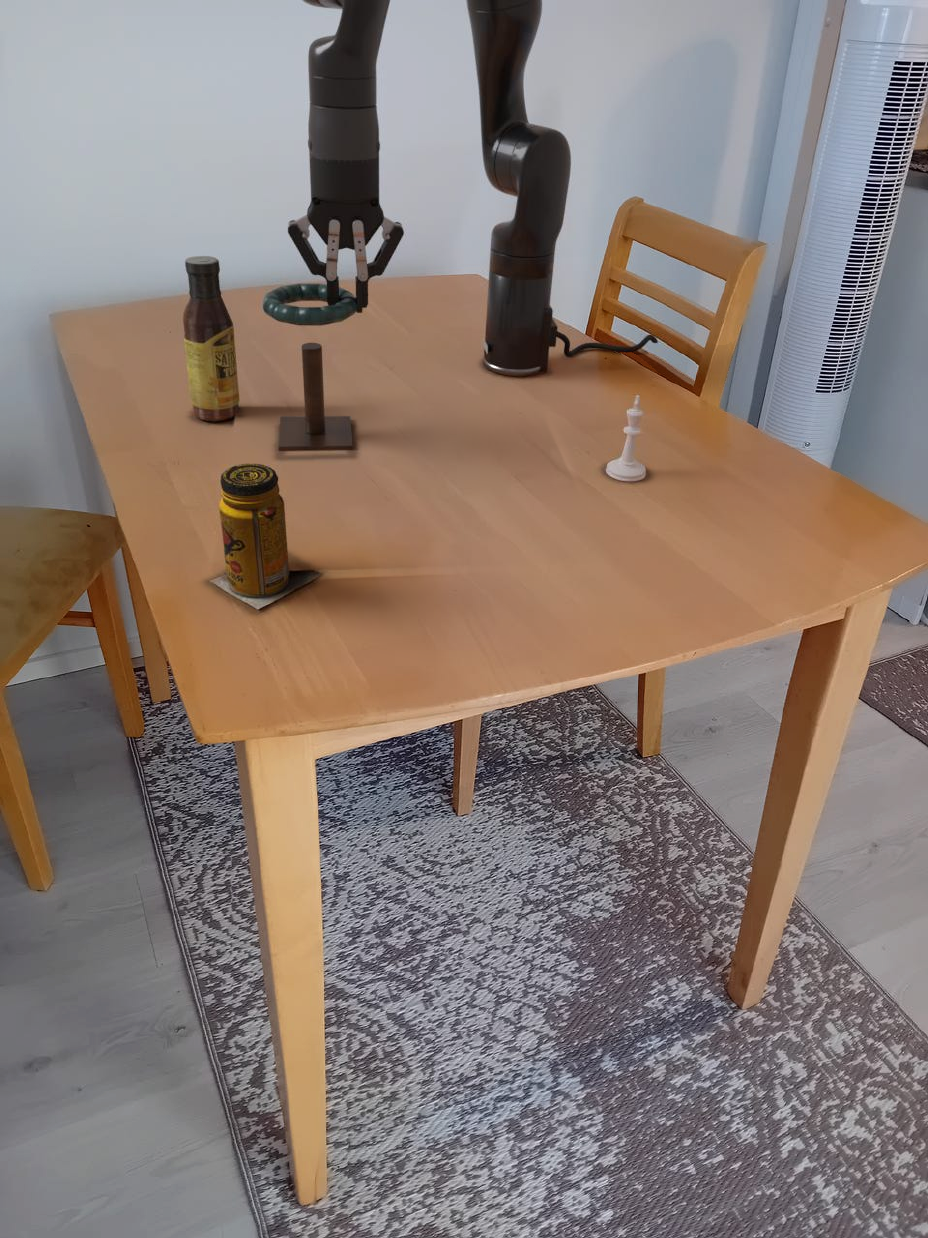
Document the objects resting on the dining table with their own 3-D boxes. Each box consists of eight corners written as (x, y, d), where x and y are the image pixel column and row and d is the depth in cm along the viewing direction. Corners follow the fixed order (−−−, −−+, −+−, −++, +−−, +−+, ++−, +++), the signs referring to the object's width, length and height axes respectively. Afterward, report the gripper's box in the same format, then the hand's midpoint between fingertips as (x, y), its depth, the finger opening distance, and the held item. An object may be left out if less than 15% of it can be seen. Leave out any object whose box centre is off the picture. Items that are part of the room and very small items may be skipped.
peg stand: (350, 426, 128) (348, 332, 121) (352, 456, 121) (350, 359, 114) (281, 427, 127) (274, 332, 120) (279, 457, 120) (272, 359, 113)
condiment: (209, 582, 97) (195, 473, 90) (275, 550, 102) (266, 445, 95) (257, 611, 93) (247, 500, 86) (323, 577, 99) (318, 469, 92)
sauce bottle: (229, 426, 127) (213, 269, 115) (184, 420, 127) (164, 264, 116) (248, 407, 132) (235, 255, 120) (205, 401, 133) (188, 250, 121)
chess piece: (648, 468, 122) (661, 392, 117) (641, 484, 118) (654, 407, 113) (610, 460, 123) (621, 385, 118) (601, 477, 120) (612, 400, 114)
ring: (355, 297, 120) (354, 281, 118) (358, 327, 111) (358, 310, 110) (265, 297, 118) (264, 281, 117) (261, 327, 110) (260, 310, 108)
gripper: (405, 145, 109) (403, 301, 119) (280, 142, 107) (288, 300, 117) (411, 158, 103) (408, 321, 113) (278, 155, 101) (287, 320, 111)
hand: (347, 310), depth 115 cm, fingers closed on ring, 2 cm apart
